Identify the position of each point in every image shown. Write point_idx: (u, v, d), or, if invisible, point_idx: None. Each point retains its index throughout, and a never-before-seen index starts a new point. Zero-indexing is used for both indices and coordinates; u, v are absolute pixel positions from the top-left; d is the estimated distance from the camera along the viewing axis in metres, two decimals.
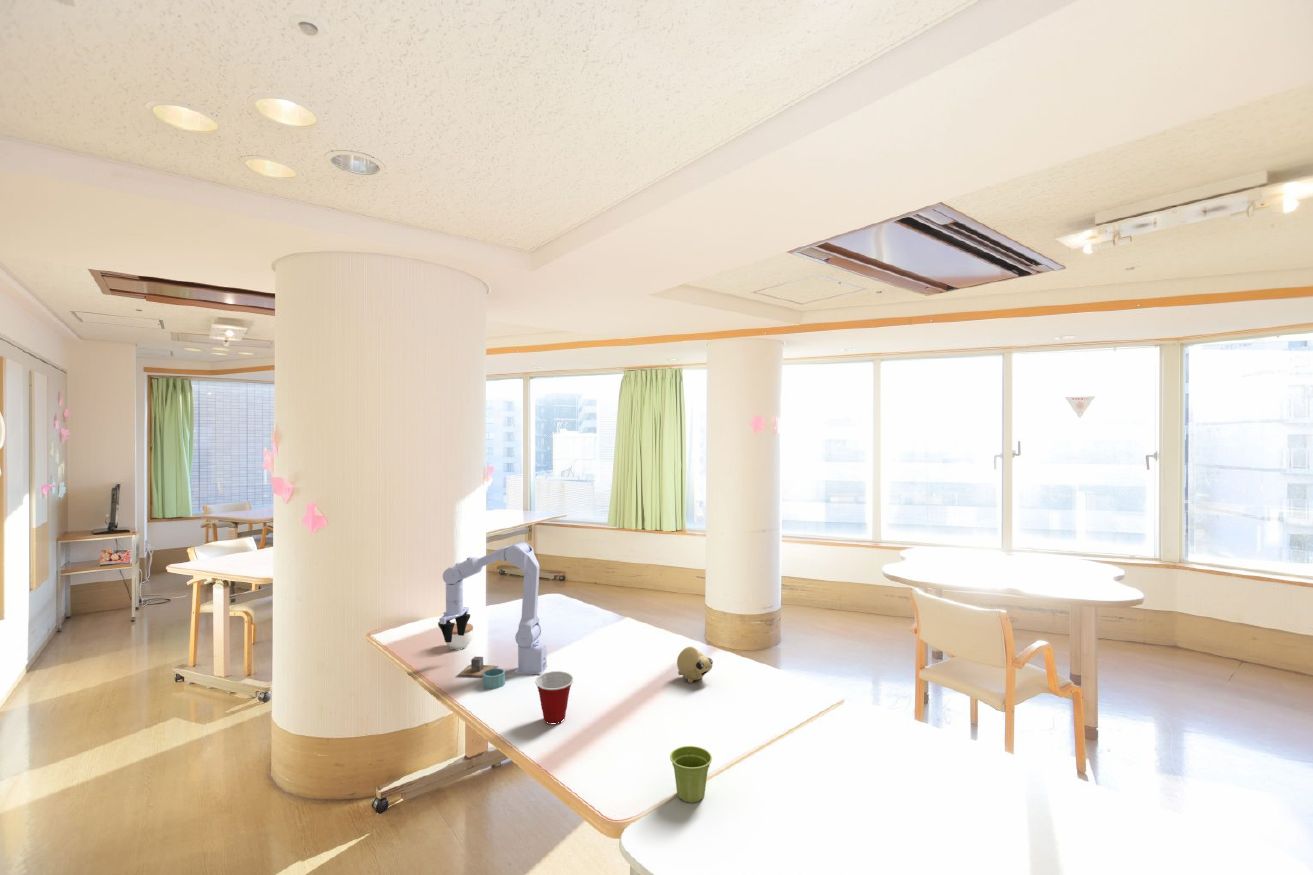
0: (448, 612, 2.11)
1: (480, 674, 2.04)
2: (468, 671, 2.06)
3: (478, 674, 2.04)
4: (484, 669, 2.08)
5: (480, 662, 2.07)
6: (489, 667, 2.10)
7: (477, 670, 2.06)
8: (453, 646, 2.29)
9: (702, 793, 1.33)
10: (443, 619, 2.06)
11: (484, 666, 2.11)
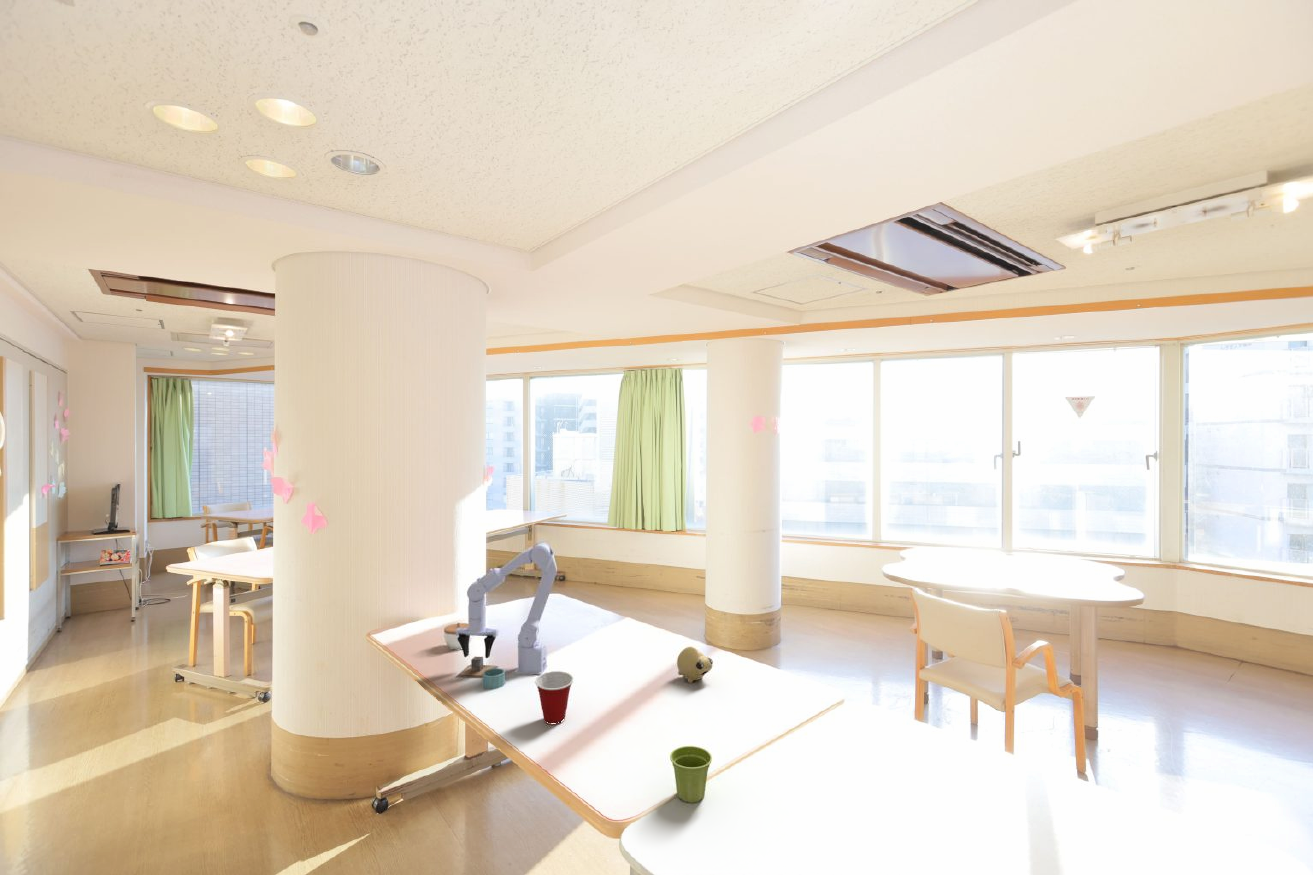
0: None
1: (480, 674, 2.04)
2: (468, 671, 2.06)
3: (478, 674, 2.04)
4: (484, 669, 2.08)
5: (480, 662, 2.07)
6: (489, 667, 2.10)
7: (477, 670, 2.06)
8: (453, 646, 2.29)
9: (702, 793, 1.33)
10: None
11: (484, 666, 2.11)
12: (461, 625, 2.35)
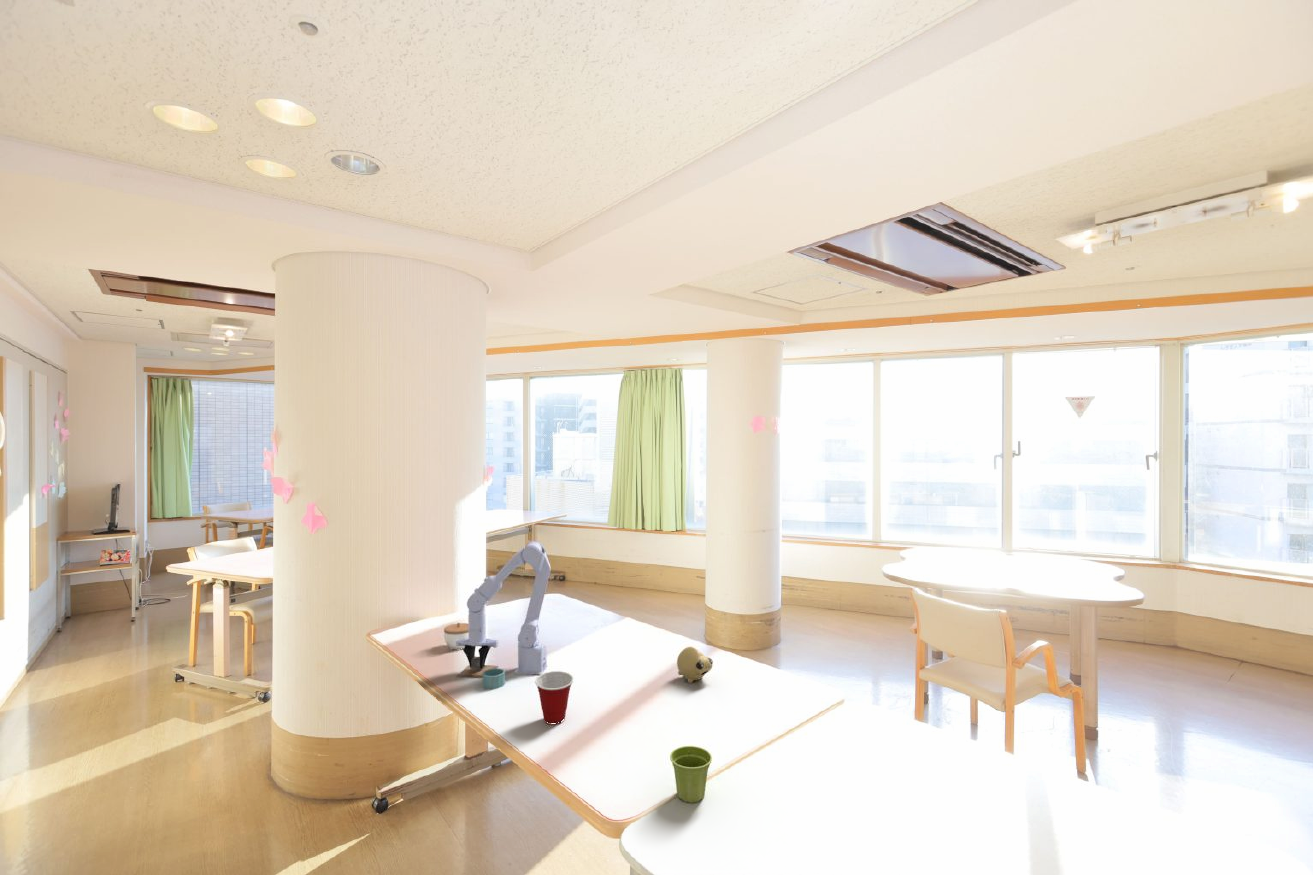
0: None
1: (480, 674, 2.04)
2: (468, 671, 2.06)
3: (478, 674, 2.04)
4: (484, 669, 2.08)
5: None
6: (489, 667, 2.10)
7: (477, 670, 2.06)
8: (453, 646, 2.29)
9: (702, 793, 1.33)
10: None
11: (484, 666, 2.11)
12: (461, 625, 2.35)
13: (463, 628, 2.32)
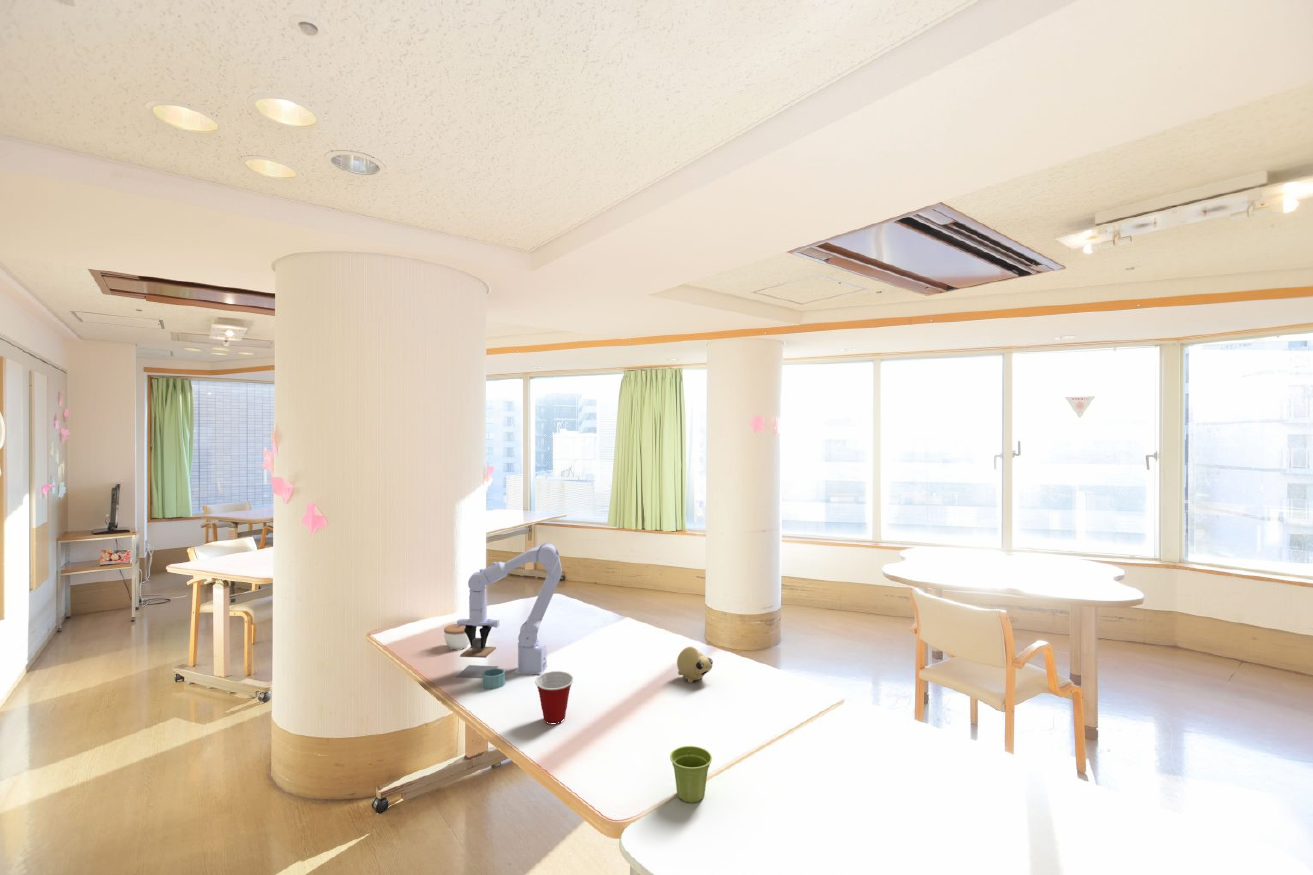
0: None
1: (481, 655, 2.03)
2: (469, 652, 2.06)
3: (479, 655, 2.03)
4: (485, 650, 2.07)
5: None
6: (490, 648, 2.09)
7: (478, 651, 2.05)
8: (453, 646, 2.29)
9: (702, 793, 1.33)
10: None
11: (485, 647, 2.10)
12: None
13: (463, 628, 2.32)
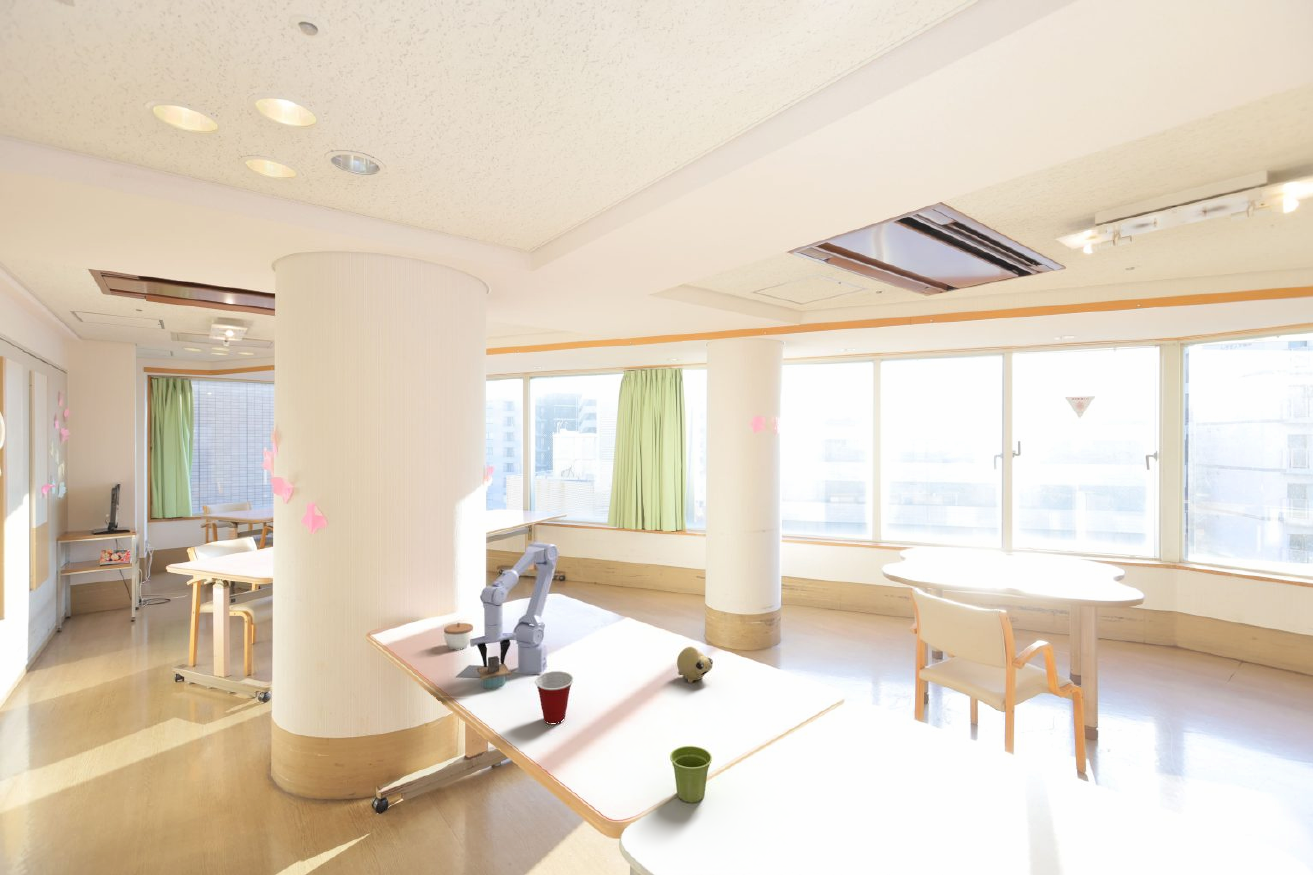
0: None
1: (504, 672, 1.95)
2: (487, 673, 1.94)
3: (502, 673, 1.94)
4: (500, 668, 1.98)
5: (498, 661, 1.97)
6: (502, 666, 2.00)
7: (496, 670, 1.96)
8: (453, 646, 2.29)
9: (702, 793, 1.33)
10: (471, 641, 1.93)
11: None
12: (461, 625, 2.35)
13: (463, 628, 2.32)
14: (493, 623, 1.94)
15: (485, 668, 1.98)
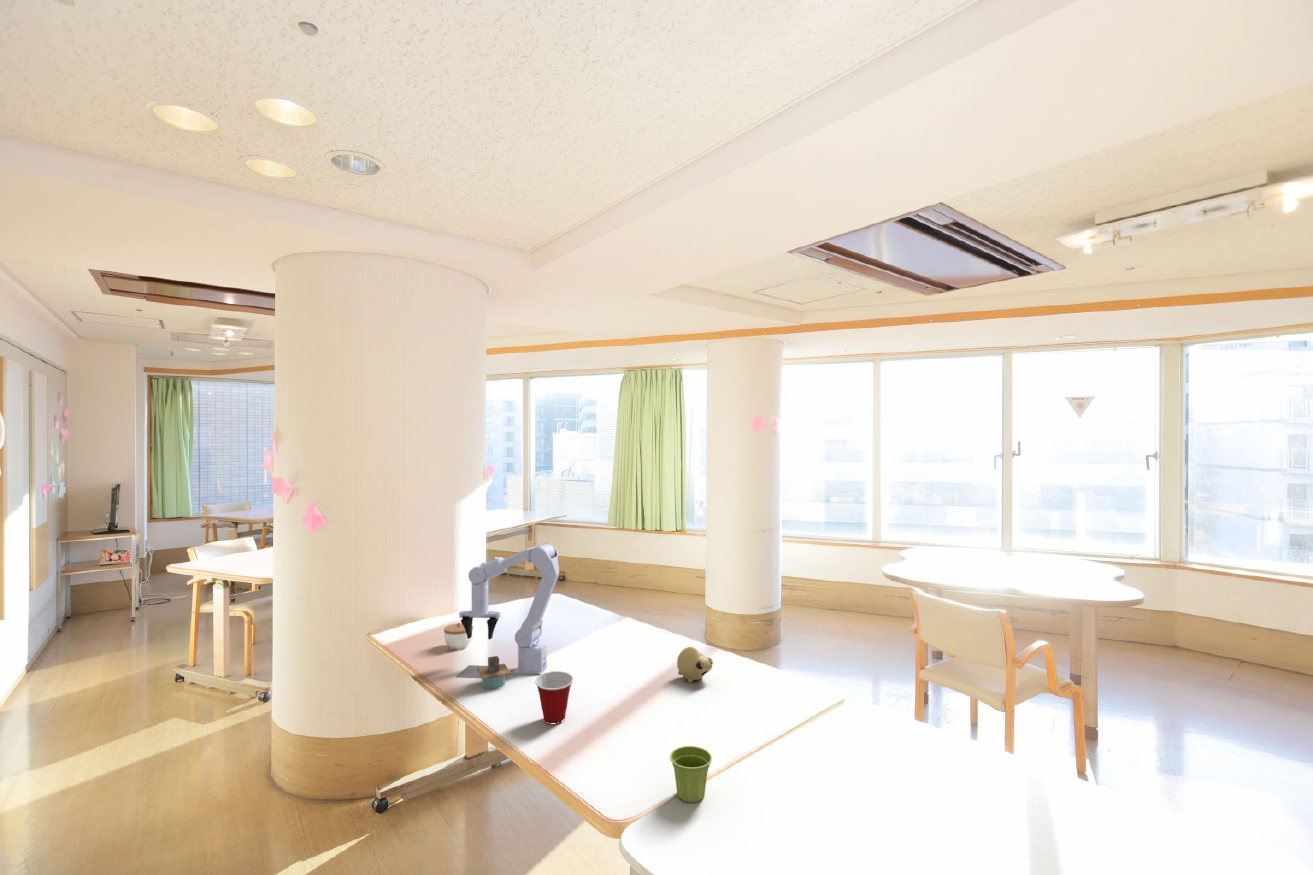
0: None
1: (504, 672, 1.95)
2: (487, 673, 1.94)
3: (502, 673, 1.94)
4: (500, 668, 1.98)
5: (498, 661, 1.97)
6: (502, 666, 2.00)
7: (496, 670, 1.96)
8: (453, 646, 2.29)
9: (702, 793, 1.33)
10: None
11: None
12: (461, 625, 2.35)
13: (463, 628, 2.32)
14: (472, 599, 2.12)
15: (485, 668, 1.98)
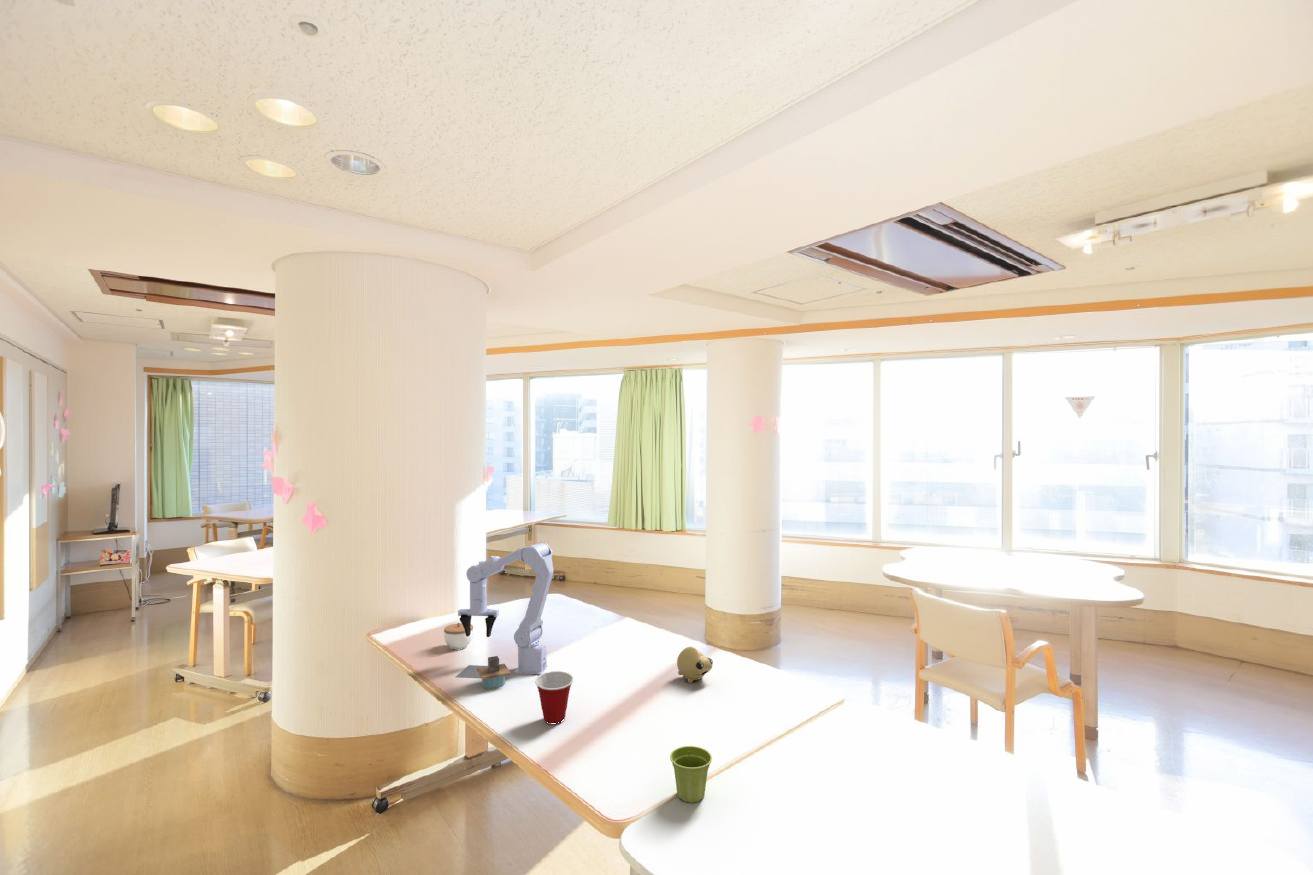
0: None
1: (504, 672, 1.95)
2: (487, 673, 1.94)
3: (502, 673, 1.94)
4: (500, 668, 1.98)
5: (498, 661, 1.97)
6: (502, 666, 2.00)
7: (496, 670, 1.96)
8: (453, 646, 2.29)
9: (702, 793, 1.33)
10: None
11: None
12: (461, 625, 2.35)
13: (463, 628, 2.32)
14: (470, 597, 2.15)
15: (485, 668, 1.98)
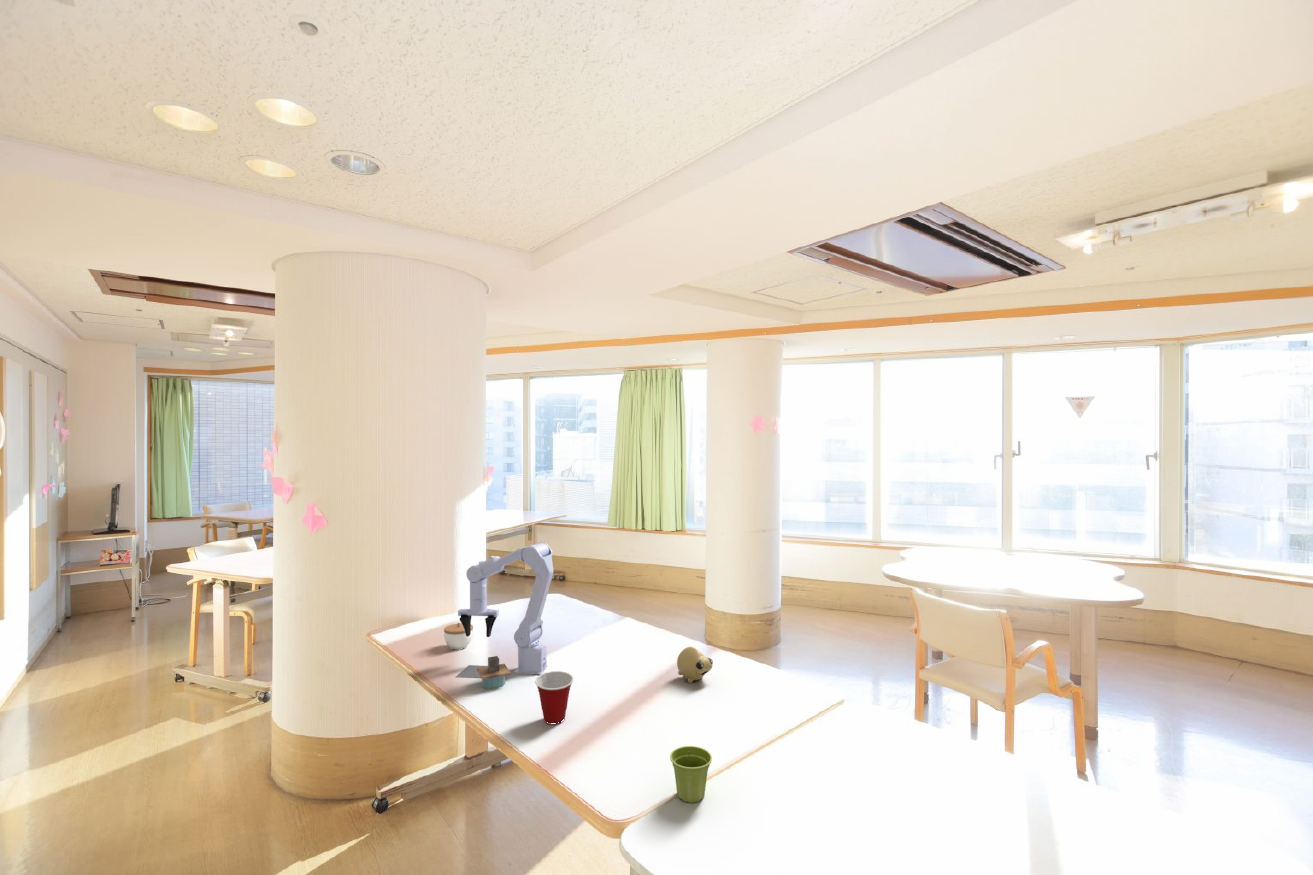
0: None
1: (504, 672, 1.95)
2: (487, 673, 1.94)
3: (502, 673, 1.94)
4: (500, 668, 1.98)
5: (498, 661, 1.97)
6: (502, 666, 2.00)
7: (496, 670, 1.96)
8: (453, 646, 2.29)
9: (702, 793, 1.33)
10: None
11: None
12: (461, 625, 2.35)
13: (463, 628, 2.32)
14: (470, 597, 2.15)
15: (485, 668, 1.98)
